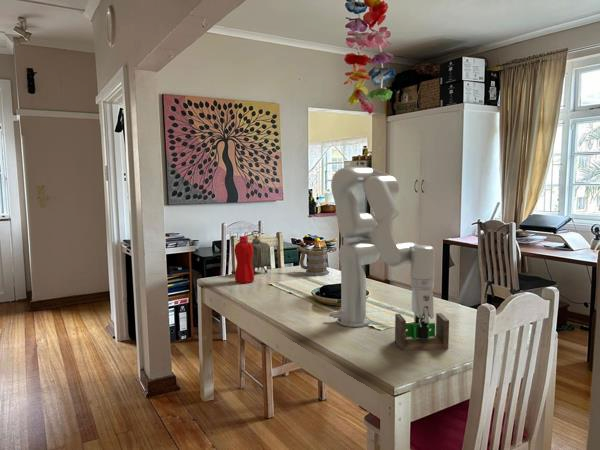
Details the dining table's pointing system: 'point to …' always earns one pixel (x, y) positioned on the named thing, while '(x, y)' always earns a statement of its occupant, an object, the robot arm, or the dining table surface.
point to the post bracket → (432, 343)
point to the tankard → (314, 261)
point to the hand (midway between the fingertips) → (420, 335)
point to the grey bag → (260, 253)
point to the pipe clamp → (413, 330)
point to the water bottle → (244, 261)
